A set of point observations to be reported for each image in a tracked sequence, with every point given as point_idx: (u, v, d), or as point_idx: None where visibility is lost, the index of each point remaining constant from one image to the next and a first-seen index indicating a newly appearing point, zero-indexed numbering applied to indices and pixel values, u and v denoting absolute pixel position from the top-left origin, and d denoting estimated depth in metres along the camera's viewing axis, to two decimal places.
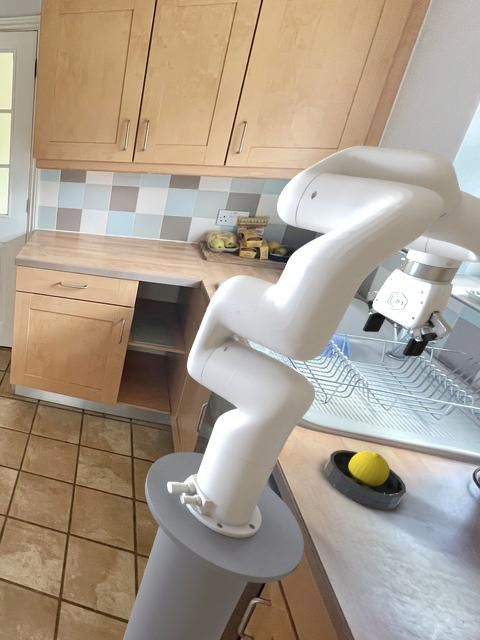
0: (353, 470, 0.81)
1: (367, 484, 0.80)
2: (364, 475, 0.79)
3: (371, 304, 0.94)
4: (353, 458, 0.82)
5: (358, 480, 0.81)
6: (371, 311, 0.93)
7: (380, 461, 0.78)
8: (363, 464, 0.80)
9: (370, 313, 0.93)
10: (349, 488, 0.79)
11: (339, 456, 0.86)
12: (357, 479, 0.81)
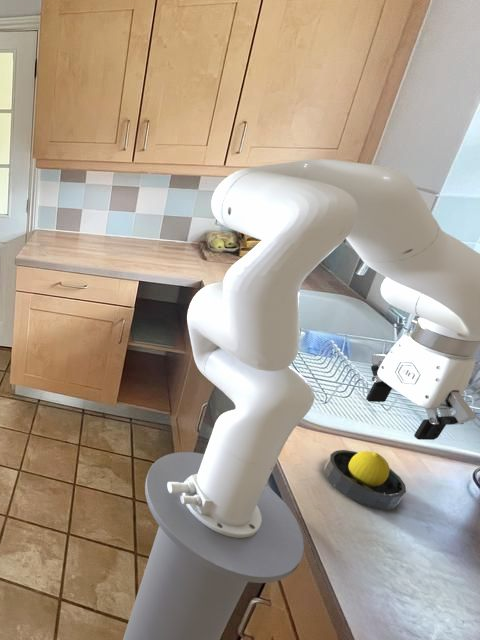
0: (353, 470, 0.81)
1: (367, 484, 0.80)
2: (364, 475, 0.79)
3: (376, 370, 0.79)
4: (353, 458, 0.82)
5: (358, 480, 0.81)
6: (376, 379, 0.79)
7: (380, 461, 0.78)
8: (363, 464, 0.80)
9: (375, 380, 0.79)
10: (349, 488, 0.79)
11: (339, 456, 0.86)
12: (357, 479, 0.81)
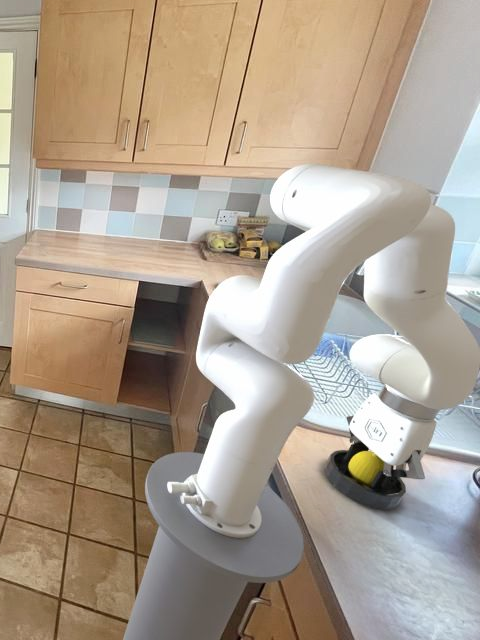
0: (353, 470, 0.81)
1: (367, 484, 0.80)
2: (364, 475, 0.79)
3: None
4: (353, 458, 0.82)
5: (358, 480, 0.81)
6: (353, 440, 0.83)
7: (380, 461, 0.78)
8: (363, 464, 0.79)
9: (352, 442, 0.83)
10: (349, 488, 0.79)
11: (339, 456, 0.86)
12: (357, 479, 0.81)
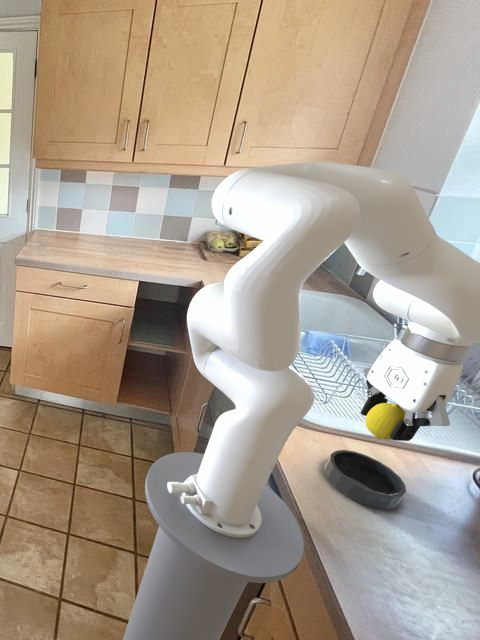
0: (371, 423, 0.77)
1: (386, 437, 0.76)
2: (382, 427, 0.75)
3: (371, 384, 0.79)
4: (371, 410, 0.78)
5: (376, 433, 0.76)
6: (370, 393, 0.79)
7: (400, 411, 0.74)
8: (382, 416, 0.75)
9: (370, 395, 0.79)
10: (349, 488, 0.79)
11: (339, 456, 0.86)
12: (375, 432, 0.77)
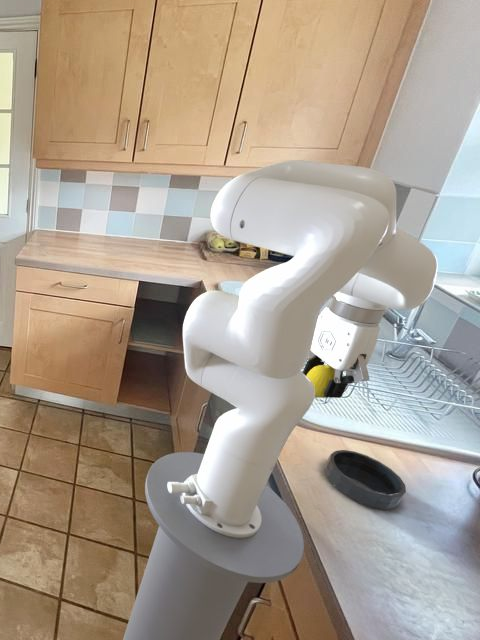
0: None
1: (321, 395, 0.84)
2: (317, 386, 0.84)
3: None
4: (309, 372, 0.86)
5: None
6: (309, 357, 0.88)
7: (332, 371, 0.83)
8: (317, 376, 0.84)
9: (308, 358, 0.88)
10: (349, 488, 0.79)
11: (339, 456, 0.86)
12: None
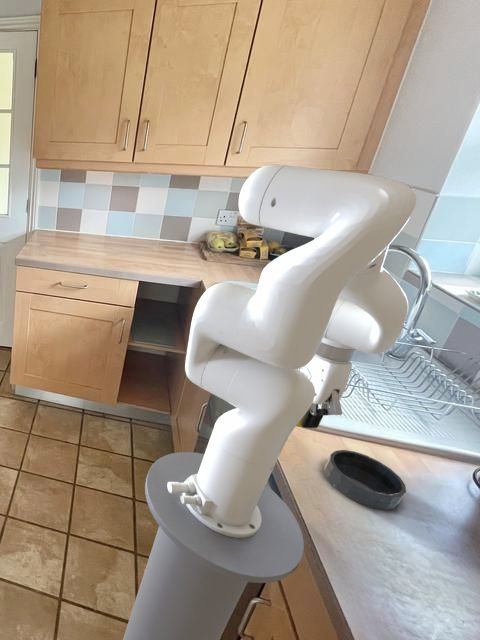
0: None
1: (299, 425, 0.89)
2: None
3: None
4: None
5: None
6: None
7: None
8: None
9: None
10: (349, 488, 0.79)
11: (339, 456, 0.86)
12: None
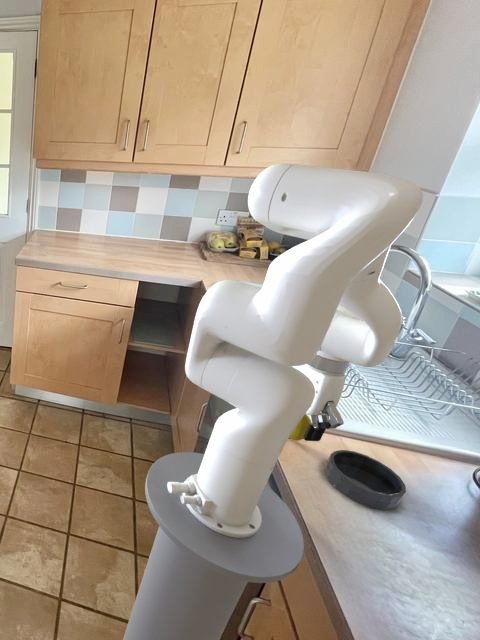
0: None
1: (292, 438, 0.91)
2: None
3: None
4: None
5: None
6: None
7: None
8: None
9: None
10: (349, 488, 0.79)
11: (339, 456, 0.86)
12: None
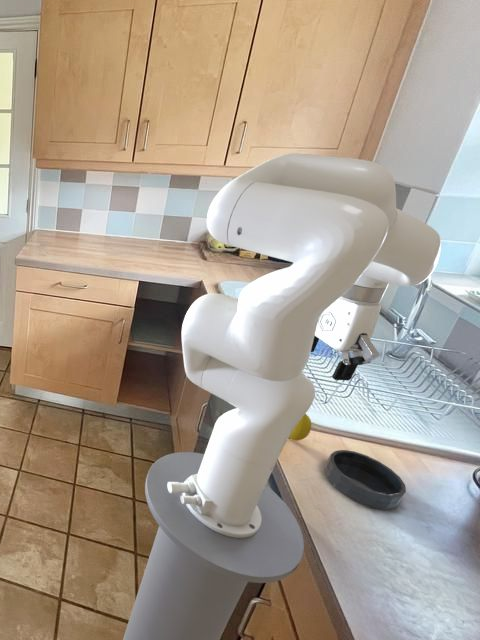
0: None
1: (292, 438, 0.91)
2: None
3: None
4: None
5: None
6: None
7: (302, 417, 0.90)
8: None
9: None
10: (349, 488, 0.79)
11: (339, 456, 0.86)
12: None
